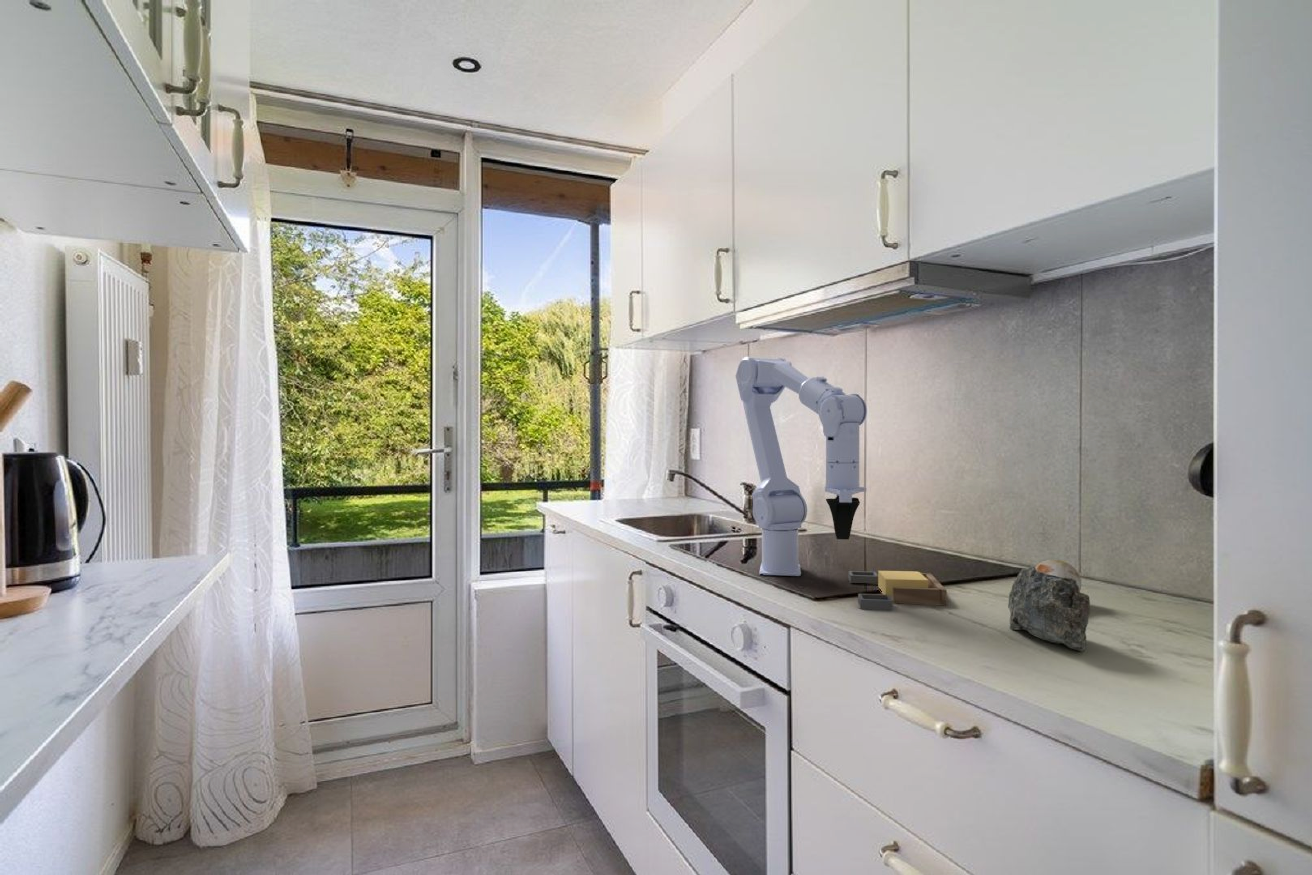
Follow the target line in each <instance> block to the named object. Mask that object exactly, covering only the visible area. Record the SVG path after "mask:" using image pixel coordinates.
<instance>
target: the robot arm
mask: <svg viewBox="0 0 1312 875" xmlns="http://www.w3.org/2000/svg"><path fill="white" fill-rule="evenodd" d="M735 379H736V384H737V388H738V393H739V398H740V400H741V401H742V403H743V410H744V414H745V419H746V423H747V426H748V432H749V436H750V441H751V445H752V450H753V452H754V453H753V454H754V458H755V463H756V467H757V471H758V476H759V480H760V483H759V485H758V486H757V487H756V488H755V489H754V490H753V492H752V493H751V497H752V516H753V519H754V522H756V524H757V525H758V528H759V529H761V563H760V567H759V573H758V574H759V575H760V574H763V575H762V576H787V577H789V576H790V577H801V574H802V571H801V565H800V564H799V529H802V524H803V523H804V522H805V521H806V519H807V515H808V505H807V502H806V500H805V498H804V497H803V494H802V492H801V490H800V486H799V485H798V484H797V483H795V482H793V481H792V480H791V479H789V477H788V476H787V472H786V468H785V463H784V459H783V456H782V452H781V447H780V443H779V439H778V435H777V431H776V427H775V422H774V418H773V414H772V409H771V406H772V404H773V403H775V402H776V401H778V399H779V397H780V396H781V395H782V393H783V392H784V390H785V388H787V389H789V390H791V391H792V392H794V393H796V394H798V399H799V401H800V404H802V405H804V406H805V407H807V408H808V409H810V410H811V411H813V412H815V414H817V415H818V418H819V421H820V422H821V424H822V432H823V436H824V437H825V486H824V492H825V493H830V494H834V495H836V497H835V498H826V499H825V501H826V503H827V505H828V506H829V507H828V508H829V510H830V514H831V517H832V522H833V530H834V534H835V537H836V540H850V537H851V534H852V533H851V532H852V527H853V521H854V517H855V514H856V512H857V510H858V508H859V506H860V502H861V501H860V499H859V497H853V495H855V494H858V493H861V492H862V493H863V492H865V493H866V492H867V487H865V486H860V426H861V425H863V423H864V422H865V420H866V418H867V413H868V412H867V411H868V409H867V404H866V402H865V400H864V399H863V398H862V396H860V394H858V393H851V394H846V393H845V392H844V391H843V388H841V387H837V386H836V387H835V386H833V385H832V384H830V383H829V382H828V379H827V377H824V376H816V377H807V376H806V375H805V374H803V372H800V371H799V370H798V369H797V368H795V367H794V366H793V365H792V362H791V361H789V360H786V359H785V358H782V357H781V358H768V357H767V358H766V357H751V356H745V357H743V358H742V359H741V360H740V362H739V364H738V366H737V371H736V373H735Z"/></svg>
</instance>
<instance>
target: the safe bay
mask: <svg viewBox="0 0 1312 875" xmlns="http://www.w3.org/2000/svg"><path fill="white" fill-rule="evenodd" d="M920 573H921V574H922V575H923V576H924V577H925V578H927V579H928V588H912V587H893V598H892V600H893V604H904V605H905V604H907V605H928V606H929V605H930V606H932V605H933V606H947V601H948V600H947V597H948V596H947V588H945V587H944V586H943V585H942V584H941V583H940V582H939V581H938V580H937V578H936V577H935V576H934V575H933V574H932V573H930V572H929V573H928V572H920Z"/></svg>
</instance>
